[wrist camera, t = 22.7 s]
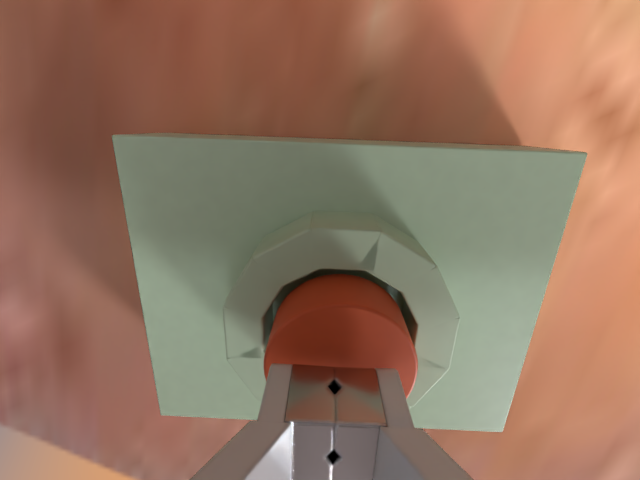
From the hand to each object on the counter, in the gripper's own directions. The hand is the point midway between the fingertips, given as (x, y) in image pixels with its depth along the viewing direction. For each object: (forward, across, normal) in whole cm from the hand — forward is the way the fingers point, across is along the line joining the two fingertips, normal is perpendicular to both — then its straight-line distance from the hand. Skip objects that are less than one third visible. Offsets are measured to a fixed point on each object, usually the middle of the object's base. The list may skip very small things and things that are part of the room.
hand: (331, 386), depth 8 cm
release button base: (+7, 0, 0) cm, 7 cm away
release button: (+2, 0, 0) cm, 2 cm away
